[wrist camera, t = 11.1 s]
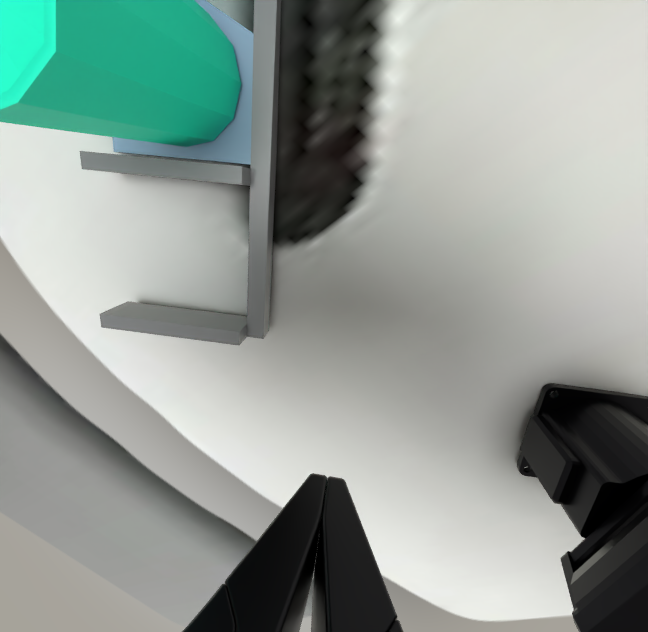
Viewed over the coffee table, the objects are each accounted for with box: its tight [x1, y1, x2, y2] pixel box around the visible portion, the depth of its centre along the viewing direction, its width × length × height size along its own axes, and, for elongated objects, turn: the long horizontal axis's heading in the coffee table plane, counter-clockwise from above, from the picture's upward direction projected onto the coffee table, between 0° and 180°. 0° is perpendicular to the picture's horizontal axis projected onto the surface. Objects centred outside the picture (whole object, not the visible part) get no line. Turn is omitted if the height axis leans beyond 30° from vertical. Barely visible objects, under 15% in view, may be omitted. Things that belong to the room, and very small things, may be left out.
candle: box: [0, 0, 241, 147], centre depth 12 cm, size 6×6×12 cm
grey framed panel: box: [80, 0, 281, 345], centre depth 18 cm, size 9×17×2 cm, turn 175°
